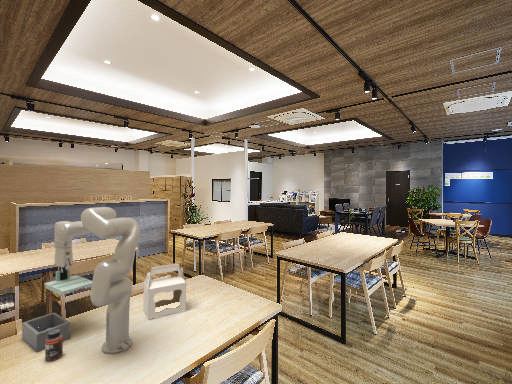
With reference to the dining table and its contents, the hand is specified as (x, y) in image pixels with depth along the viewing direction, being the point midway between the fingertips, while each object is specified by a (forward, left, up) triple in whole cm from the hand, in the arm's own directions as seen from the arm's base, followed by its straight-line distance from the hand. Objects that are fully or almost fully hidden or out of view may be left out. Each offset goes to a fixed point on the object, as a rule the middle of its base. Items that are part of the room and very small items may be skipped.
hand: (62, 278), depth 137 cm
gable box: (-30, -42, -25) cm, 57 cm away
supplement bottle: (-27, +13, -25) cm, 39 cm away
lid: (-8, 0, -3) cm, 8 cm away
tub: (-8, +10, -25) cm, 28 cm away
